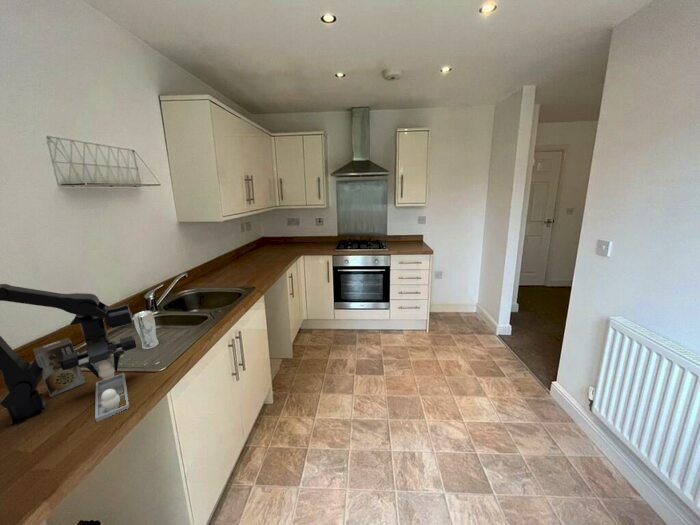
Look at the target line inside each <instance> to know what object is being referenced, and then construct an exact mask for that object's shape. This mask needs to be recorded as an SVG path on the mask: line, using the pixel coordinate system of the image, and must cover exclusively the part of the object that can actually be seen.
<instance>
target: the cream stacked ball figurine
mask: <svg viewBox="0 0 700 525" xmlns="http://www.w3.org/2000/svg"><path fill="white" fill-rule="evenodd" d="M97 364H98V365H97V370H98V375H99V378H102V380H108V379H111V378H113V377H114V376H115V372H116V371H115V367H114V364H113V363H112V361H111V360H110V359H107V360H103V361H99V362H98V363H97Z"/></svg>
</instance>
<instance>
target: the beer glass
mask: <svg viewBox="0 0 700 525" xmlns="http://www.w3.org/2000/svg"><path fill="white" fill-rule="evenodd" d="M132 317H133V324H134V327H135V330H136V331H137V335H138V336H139V338H140V340H141V348H142V349H143V350H149V349H150V350H151V349H153V348H155V347H157V346H158V345H159V344H160V343H159V342H160V341H159V340H158V338H157V334H156V329H157V328H156V321H155V316H154V314H153V310H142V311H139V312H137V313H135V314H132Z"/></svg>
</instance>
